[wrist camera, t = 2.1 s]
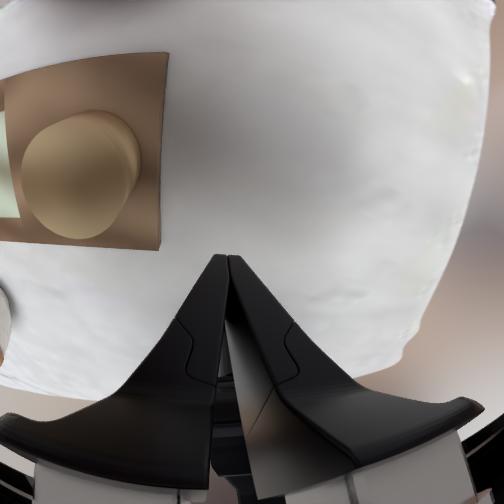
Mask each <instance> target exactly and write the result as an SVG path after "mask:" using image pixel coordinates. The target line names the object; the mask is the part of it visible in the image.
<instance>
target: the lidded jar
mask: <svg viewBox="0 0 504 504" xmlns="http://www.w3.org/2000/svg"><path fill="white" fill-rule="evenodd" d="M11 328H12V321H11V313H10V309H9V301H8V298H7V296H6V294H5V292H4V291H3V290H2V288H1V287H0V367H1V365H2V363H3V360H4V355H5V353H6V350H7V347H8V344H9V340H10V335H11Z"/></svg>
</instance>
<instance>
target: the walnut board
mask: <svg viewBox="0 0 504 504" xmlns="http://www.w3.org/2000/svg"><path fill="white" fill-rule="evenodd" d="M168 57H169V53H166V52H150V53H131V54H119V55H109V56H101V57H93V58H87V59H81V60H75V61H70V62H65V63H60V64H55V65H51V66H47V67H43V68H39V69H35V70H32V71H28V72H25V73H21V74H18V75H15V76H12V77H9V78H6V79H3V80H0V241H10V242H25V243H40V244H56V245H71V246H87V247H103V248H119V249H135V250H152V251H159V247H160V243H161V233H160V156H161V133H162V117H163V104H164V93H165V82H166V73H167V65H168ZM88 110H104V111H108V112H111V113H113V114H115V115H117V116H118V117H120V118H121V119H123V120H124V121H125V122H126V123H127V124H128V125H129V126H130V127H131V129H132V130H133V132H134V133H135V135H136V137H137V139H138V142H139V145H140V148H141V154H142V168H141V173H140V176H139V179H138V181H137V184H136V186H135V187H134V189H133V190H132V192H131V194H130V195H129V197H128V199H127V200H126V202H125V204H124V205H123V207H122V209H121V210H120V212H119V214H118V216H117V217H116V219H115V221H114V222H113V223H112V224H111V225H110V227H108V228H107V229H106V230H105V231H103V232H102V233H100V234H98V235H96V236H94V237H91V238H86V239H72V238H67V237H63V236H61V235H58V234H56V233H54V232H52V231H51V230H49V229H48V228H46V227H45V226H44V225H43V224H42V223H41V222H40V221H39V220H38V219H37V218H36V217H35V215H34V214H33V213H32V211H31V209H30V208H29V206H28V204H27V202H26V199H25V197H24V194H23V190H22V184H21V165H22V161H23V157H24V154H25V151H26V149H27V147H28V145H29V144H30V142H31V141H32V140H33V138H34V137H35V136H36V135H37V134H38V133H40V132H41V131H42V130H44V129H45V128H47V127H49V126H51V125H53V124H55V123H57V122H60V121H62V120H64V119H66V118H69V117H71V116H73V115H76V114H78V113H81V112H84V111H88Z"/></svg>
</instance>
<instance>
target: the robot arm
mask: <svg viewBox="0 0 504 504" xmlns="http://www.w3.org/2000/svg"><path fill="white" fill-rule="evenodd" d="M484 410H485V408H484V407H483V406H482V405H481V404H480V403H478V402H477V401H474V400H472V399H469V398H465V397H458V398H456V399H454V400H452V401H450V402H446V403H428V402H422V401H417V400H412V399H407V398H403V397H398V396H394V395H390V394H385V393H381V392H377V391H373V390H370V389H368V388H366V387H364V386H362V385H360V384H358V383H357V382H356V381H355V380H354V379H352V378H351V377H350V376H349V375H348V374H347V373H346V372H345V371H344V370H342V369H341V368H340V367H339V366H338V365H337V364H336V363H335V362H334V361H333V360H332V359H331V358H329V357H328V356H327V355H326V354H325V353H324V352H323V351H322V350H321V349H320V348H319V347H318V346H317V345H316V344H315V343H314V342H313V341H312V340H311V339H310V338H309V337H308V336H307V334H306V333H305V332H304V331H303V330H302V329H301V328H300V326H299V325H298V324H297V323H296V322H294V319H293V318H292V317H291V316H290V315H289V314H288V312H287V311H286V310H285V309H284V308H283V306H282V305H281V304H280V303H279V302H278V300H277V299H276V298H275V297H274V296H273V295H272V293H271V292H270V291H269V290H268V289H267V287H266V286H265V285H264V284H263V283H262V281H261V280H260V279H259V278H258V277H257V275H256V274H255V273H254V272H253V271H252V269H251V268H250V267H249V266H248V265H247V263H246V262H245V261H244V260H243V258H242V257H241V256H239V255H228V256H227V255H224V254H214V255H213V257H212V258H211V260H210V261H209V263H208V265H207V266H206V268H205V269H204V271H203V272H202V274H201V276H200V277H199V279H198V280H197V282H196V283H195V285H194V287H193V288H192V290H191V291H190V293H189V295H188V296H187V298H186V299H185V301H184V303H183V304H182V306H181V307H180V309H179V311H178V312H177V314H176V315H175V317H174V319H173V320H172V322H171V323H170V325H169V327H168V328H167V330H166V331H165V333H164V334H163V336H162V337H161V339H160V340H159V341H158V343H157V344H156V345H155V347H154V348H153V349H152V350H151V352H150V353H149V354H148V355H147V357H146V358H145V359H144V360H143V361H142V363H141V364H140V365H139V366H138V367H137V369H136V370H135V371H134V372H133V373H132V375H131V376H130V377H129V378H128V379H127V381H126V382H125V383H124V384H123V385H122V386H121V387H120V388H119V389H118V390H117V391H116V392H115V393H113V394H112V395H110V396H108V397H106V398H104V399H102V400H100V401H98V402H96V403H94V404H92V405H90V406H87V407H85V408H83V409H81V410H79V411H76V412H74V413H72V414H69V415H67V416H65V417H63V418H60V419H57V420H53V421H46V422H45V421H35V420H31V419H29V418H26V417H23V416H21V415H18V414H15V413H6V414H4V415H3V416H1V417H0V444H1V445H3V446H4V447H6V448H8V449H10V450H11V451H13V452H15V453H17V454H18V455H20V456H22V457H24V458H26V459H28V460H30V461H32V462H34V463H35V469H34V478H32V477H30V476H28V475H26V474H24V473H22V472H20V471H18V470H16V469H13V468H12V467H10V466H8V465H6V464H4V463H2V462H0V504H191V502H205V499H206V496H207V493H208V489H209V473H210V460H211V466H212V468H213V469H214V471H215V472H216V473H217V475H218V476H219V477H225V478H226V480H228V482H229V483H230V484H231V485H232V486H233V487H234V488H235V489H236V491H237V496H238V503H239V504H504V413H503V414H502V415H501V416H499V417H498V418H497V419H495V420H494V421H492V422H491V423H490V424H488V425H487V426H485V427H484V428H482V429H481V430H479V431H478V432H476V433H475V434H473V435H472V436H470V437H468V438H467V439H465V440H464V441H462V442H461V441H460V438H459V435H458V433H457V430H458V429H460V428H461V427H463V426H464V425H466V424H467V423H468V422H470V421H471V420H473V419H474V418H475V417H477V416H478V415H479V414H481V413H482V412H483V411H484Z"/></svg>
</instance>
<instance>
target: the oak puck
mask: <svg viewBox="0 0 504 504" xmlns="http://www.w3.org/2000/svg"><path fill="white" fill-rule="evenodd" d="M141 168H142V154H141V148H140V145H139V142H138V139H137V137H136V135H135V133H134V132H133V130H132V129H131V127H130V126H129V125H128V124H127V123H126V122H125V121H124V120H123V119H121V118H120V117H118V116H117V115H115V114H113V113H111V112H108V111H104V110H88V111H84V112H81V113H78V114H76V115H73V116H71V117H69V118H66V119H64V120H62V121H60V122H57V123H55V124H53V125H51V126H49V127H47V128H45V129H44V130H42V131H41V132H40V133H38V134H37V135H36V136H35V137H34V138H33V140H32V141H31V142H30V144H29V145H28V147H27V149H26V151H25V154H24V157H23V161H22V165H21V184H22V190H23V194H24V197H25V199H26V202H27V204H28V206H29V208H30V209H31V211H32V213H33V214H34V215H35V217H36V218H37V219H38V220H39V221H40V222H41V223H42V224H43V225H44V226H45V227H46V228H48V229H49V230H51V231H52V232H54V233H56V234H58V235H61V236H63V237H67V238H72V239H86V238H91V237H94V236H96V235H98V234H100V233H102V232H103V231H105V230H106V229H107V228H108V227H110V225H111V224H112V223H113V222H114V221H115V219H116V217H117V216H118V214H119V212H120V210H121V209H122V207H123V205H124V204H125V202H126V200H127V199H128V197H129V195H130V194H131V192H132V190H133V189H134V187H135V186H136V184H137V181H138V179H139V176H140V173H141Z"/></svg>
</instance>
